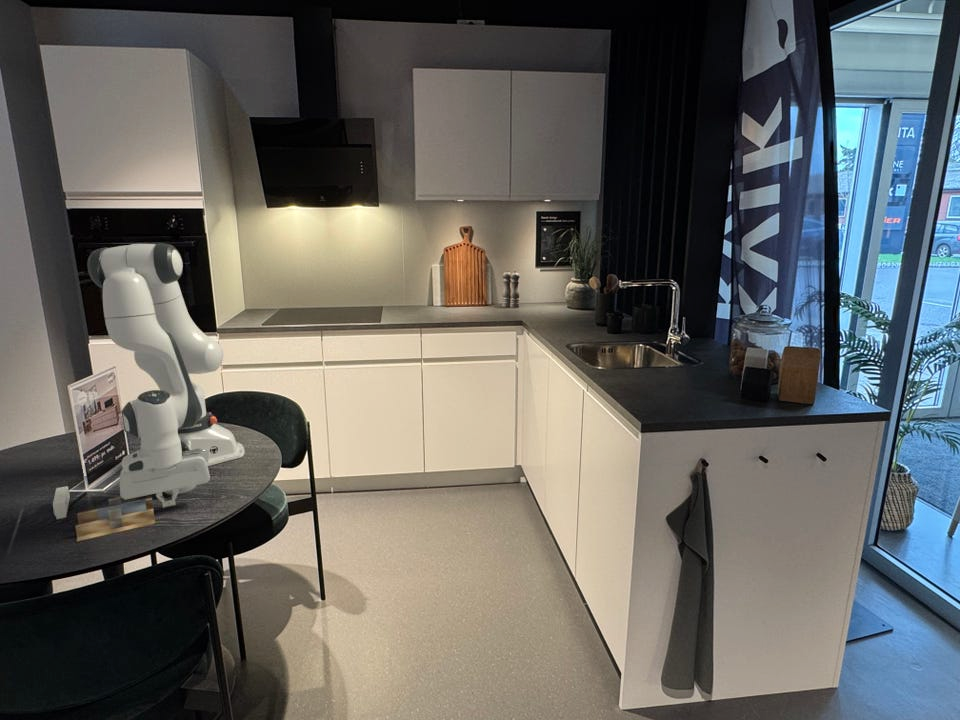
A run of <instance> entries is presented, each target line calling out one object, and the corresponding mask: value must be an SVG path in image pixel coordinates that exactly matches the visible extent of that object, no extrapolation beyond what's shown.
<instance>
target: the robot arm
mask: <svg viewBox="0 0 960 720" xmlns="http://www.w3.org/2000/svg"><path fill="white" fill-rule="evenodd" d="M86 266H87V272H88V274H89V277H90V279H91V280H92V282H93V283H94V284H95V285H96V286H97V287H99V289H100V288H101V289H102V306H103V307H102V308H103V317H104V321H105V322H104V323H105V326H106V330H107V333H108V336H109V338H110V339H111V341H112V342H113V343H114V344H115V345H117V347H120V348H123V349H125V350H128V351H130V352H131V351H132V352H133V353H134V354H133V355H134V356H133V357H134V361H135V363H136V365H137V366H138V367H139V369H140V370H141V371H144V372H145V373H146V374H148V375H149V376H150V377H151V379H152V380H153V381H154V382H155V384H156V386H157V387H158V389H153V390H147V391H144V392H142V393H140V394H139V395H138V396H137V397H136V399H134V400H131V401H128V402H127V403H126V404H125V405H124V407H123V408H122V409H121V417H122V418H121V420H122V424H123V425H122V426H123V431H124V432H125V434H128V435H130V436H132V437H134V438H140V442H141V443H140V449H138V450H136V451H134V452H131V453H129V454H127V455H125V456H123V458H122V460H121V468H122V469H121V470H120V474H119V497H120V498H121V499H123V501H124V500H130V499H136V498H140V497H144V496H150V495H154V494H155V496H156V497H155V498H157V499H158V500H159V501H160V502H161V505H162V508H163V509H164V508H167V507H172V506H176V499H177V497H178V495H179V494H178V493H179V490H178V489H180V488H184V487H189V486H194V485H196V486H198V485H202V484H207V483H209V481H210V479H211V477H210V475H211V474H210V470H209V468H208V467H210V466H214V465H218V464H221V463H225V462H229V461H233V460H237V459H239V458H243V457H244V455H245V447H244V445H243V444H242V443H240V442H238V441H236V438H235V436H234V434H233V432H232V431H230V429H227V428H226V427H223V426H221V425H219V424H218V423H217V422H218V419H217V417H216V416H215V415H214V414H212V412H210V411H209V412H207V408H206V398H205V392H204V390H203V388H202V387H201V386H199V384H197V383H195V382H194V381H192V380H191V378H190V377H191V376H190V375H191V374H193V375H201V374H208V373H213V372H216V371H217V370H218V369H219V368H220V367H221V365H222V363H223V361H224V351H223V348H222V346H221V345H220V343H219V342H218V341H217V340H215V339H212V338H211V337H210V336H208V335H207V334H205V333H204V332H203V331H202V330H201V329H200V328H199V326H197V325H196V323H195V322H194V320H193V319H192V317H191V316H190V314H189V312H188V308H187V306H186V303H185V302H186V301H185V299H184V297H183V294H182V291H181V287H180V284H179V282H178V280H179V279H180V278H181V276H182V275H183V267H184V265H183V259H182V256H181V253H180V251H179V250H178V249H177V248H176V247H175V246H173V245H172V244H168V243H162V242H157V243H131V244H128V245H127V244H126V245H118V246H114V247H113V246H112V247H102V248H97V249H95V250H93V251H91V253H90V255H89V256H88V258H87V265H86ZM180 440H181V441H183V442H184V443H185V444H186V445H187V446H188V448H189V449H190V450H188V451H182V449H181V441H180ZM170 490H172V492H173V495H171V496H170V497H166V498H165V497H164V496H163V493H165V491H170Z"/></svg>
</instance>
